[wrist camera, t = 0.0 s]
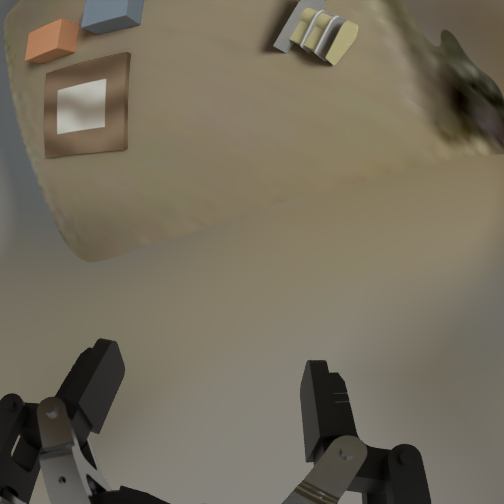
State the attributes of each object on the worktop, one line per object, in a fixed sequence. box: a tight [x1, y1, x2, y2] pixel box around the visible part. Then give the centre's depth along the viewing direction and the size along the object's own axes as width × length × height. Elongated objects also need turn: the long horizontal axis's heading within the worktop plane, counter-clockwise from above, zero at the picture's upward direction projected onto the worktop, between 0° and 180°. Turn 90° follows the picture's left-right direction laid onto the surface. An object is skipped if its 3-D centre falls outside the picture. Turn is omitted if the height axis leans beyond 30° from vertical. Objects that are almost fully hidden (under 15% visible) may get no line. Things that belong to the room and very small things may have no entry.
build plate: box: [44, 52, 131, 159], centre depth 32 cm, size 14×15×1 cm
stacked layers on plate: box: [273, 0, 359, 66], centre depth 27 cm, size 10×9×6 cm
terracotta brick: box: [25, 18, 79, 63], centre depth 25 cm, size 5×7×5 cm
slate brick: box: [81, 0, 144, 35], centre depth 24 cm, size 5×7×5 cm
